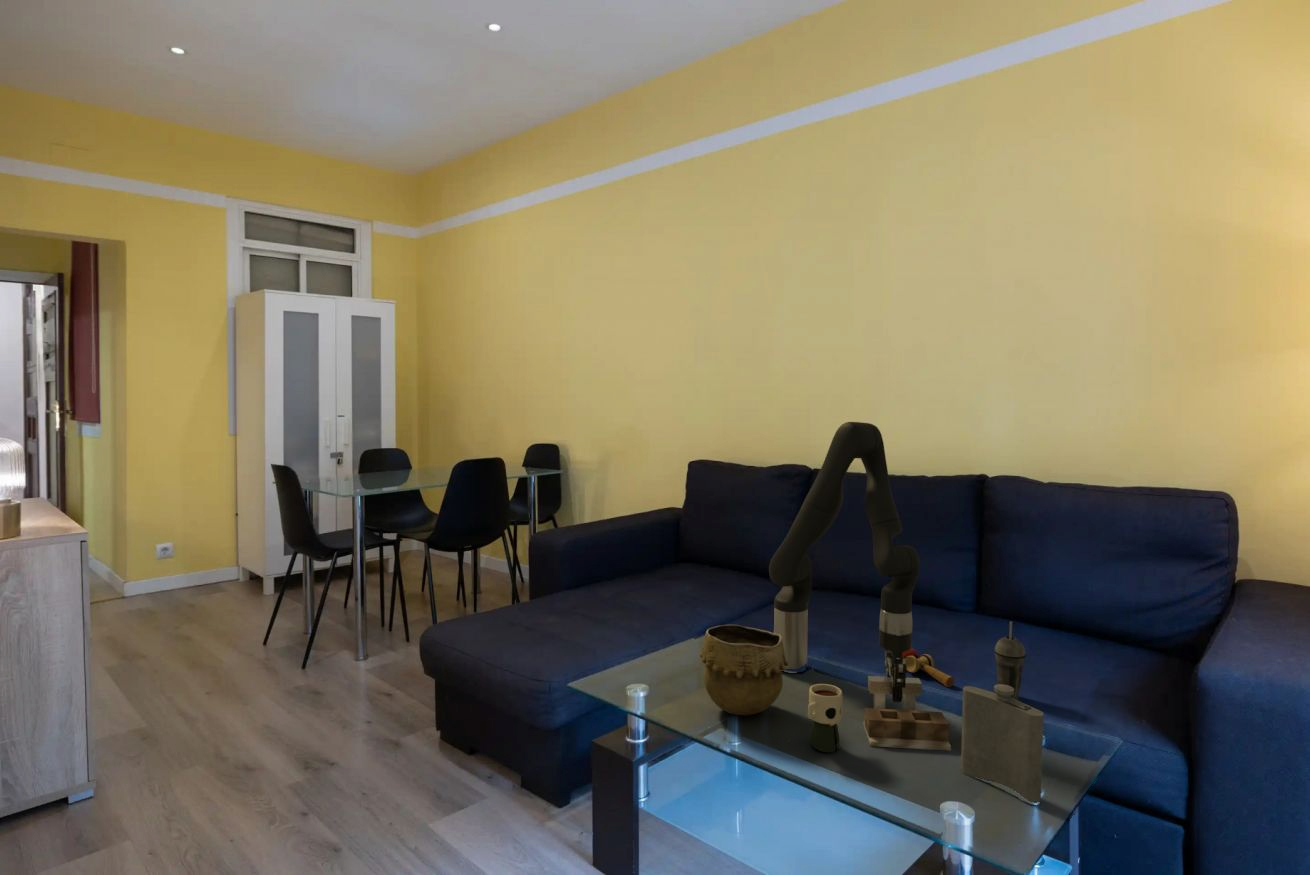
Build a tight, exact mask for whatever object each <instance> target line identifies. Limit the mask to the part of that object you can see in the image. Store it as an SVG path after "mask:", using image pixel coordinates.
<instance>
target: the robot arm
mask: <svg viewBox="0 0 1310 875" xmlns="http://www.w3.org/2000/svg"><path fill="white" fill-rule="evenodd" d="M855 459H860V460H861V462H862V464H863V467H864V469H865V474H866V491H865V499H864V503H865V510H866V515H867V518H868V519H867V520H868V522H869V524H870V529H871V531H872V547H873V548H872V551H873V562H874V566H875V568H876V570H877V572H878V574H880V575H882V576H883V577H886V578H893V579H892V580H891V581H890V582H888V583H887V584H885V585H883V587H882V588H881V594H880V613H879V630H878V631H879V634H878V635H879V636H878V638H879V640H878V641H879V642H878V644H879V647H881V648H882V649H883V650H884V669H885V674H886V677H892V694H891V700H892V702H893V703H903V695H902V688H905V686H906V684H905V682H906V678H907V669H906V668H907V666H906V664H905V657H903V652H905V651H909V650H910V649H911V648H913V647H912V646H913V615H912V614H913V612H912V602H913V601H912V600H913V598H912V596H913V592H914V589H915V585H916V582H917V580H918V576H919V572H920V567H921V562H920V556H919V554H918V552H917V550H916V549H915V547H912V546H911V545H908V544H907V545H905V544H902V545H895V546H894V543H893V542H894V540H893V539H894V538H895V537H897V536H899V535H900V534H902V531H903V526H902V523H901V520H900V516H899V513H898V510H897V507H896V503H895V500H894V498H893V497H894V496H893V494H892V489H891V484H890V478H889V470H888V464H887V458H886V451H885V444H884V440H883V435H882V433H881V431H880V429H879V428H878V427H877V426H876V425H875V424H872V423H868V422H860V421H847V422H844V423H842V424H841V425H840V426H839V427H838V428H837V429H836V432H835V433H834V435H833V437H832V440H831V442H830V445H829V447H828V450H827V453H826V455H825V459H824V461H823V464H822V465H821V468H820V470H819V472H818V474H817V476H816V478H815V480H814V482H813V484H812V486H811V487H810V489H809V491H808V493H807V495H806V496H805V498H804V500H803V503H802V505H801V506H800V509H799V511H798V513H797V514H796V517H795V519H794V521H793V523H792V524H791V527H790V529H789V530H788V533H787V534H786V536H785V538H784V539H783V541H782V543H781V544H780V545H779V547H778V549H777V550H776V551H775V553H774V554H773V556H772V557H771V559H770V562H769V566H768V573H769V578H770V580H771V581H772V583H774V584H775V585H777V586H779V587H781V589H780V591H779V592H778V593H777V594H776V595H775V597H774V603H773V606H774V608H773V610H774V616H773V617H774V618H773V620H774V622H773V633H774V634H780V635H781V637H782V641H783V646H784V654H785V658H786V661H787V662H788V663H789V664H788V666H785V669H798V668H800V667H802V666H804V665H805V664H806V663H807V664H808V620H809V619H808V618H809V616H808V614H809V613H808V612H809V611H808V610H809V609H808V608H809V607H808V605H809V603H810V602H809V601H810V599H811V595H812V582H813V581H812V580H813V566H812V565H813V564H812V561H811V558H810V557H809V555H808V551H809V550H810V549H811V548H812V546H814V545H815V544H816V543H817V541H819V540H820V538H821V537H822V536H823V535H824V534H825V533H826V532H828V530H829V529H830V528H831V526H832V525H833V523H834V522H835V519H836V518H837V516H838V515H839V512H840V510H841V508H842V506H843V503H844V480H845V476H846V473H847V472H848V470H849V468H850V466H851V464H852V463H853V462H854V460H855ZM897 679H900V682H897Z"/></svg>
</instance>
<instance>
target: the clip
mask: <svg viewBox="0 0 1310 875" xmlns="http://www.w3.org/2000/svg"><path fill="white" fill-rule="evenodd" d="M897 682H900V679H897ZM922 683H923V682H922V681H921V679H920V678H919V677H906V682H905V684H906V686H905V688H902V708H903V707H904V710H914V711H916V697H917V696H918V697H919V696H920V697H922V695H923V694H922V692H923V689H922V687H923V686H922V685H923V684H922ZM867 688H868V691H869V693H870V694H873V706H872V707H873V708H875V709H886V696H887V695H892V677H887V676H877V675H874V676H873V675H867Z"/></svg>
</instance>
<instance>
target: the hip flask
mask: <svg viewBox="0 0 1310 875" xmlns="http://www.w3.org/2000/svg"><path fill="white" fill-rule="evenodd" d="M993 691H994V692H993ZM993 691H990V690H986V689H982V688H979V687H975V686H971V685H967V686H963V689H962V714H961V716H962V717H961V720H962V721H961V755H960V757H961V758H960V773H962V774H963V773H964V774H963V775H965V776H968V775H969V776H968V777H970V776H973V777H977V778H980V779H984V780H987V781H992V782H996V783H999V784H1002V785H1004V786H1007V787H1009V788H1011V789H1013V790H1014V791H1016V792H1017V793H1019V794H1020V795H1021V796H1023V797H1024V798H1025V799H1027V800H1028V801H1030V802H1034V803H1037V802H1040V801H1042V800H1041V799H1042V777H1043V776H1042V774H1043V773H1042V772H1043V771H1042V770H1043V746H1044V745H1043V744H1044V743H1043V742H1044V721H1045V720H1044V719H1045V718H1044V716H1045V714H1044V712H1043V711H1041V710H1040V709H1037V708H1035V707H1033V706H1031V705H1029V704H1026V703H1024V702H1022V701H1020V700H1019V699H1018V700H1016V699H1014V698H1013V694H1014V688H1013V687H1011V686H1008V685H1003V684H998V683H997V684H995V685H994V686H993ZM973 777H972V778H973Z"/></svg>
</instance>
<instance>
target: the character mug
mask: <svg viewBox="0 0 1310 875" xmlns="http://www.w3.org/2000/svg"><path fill="white" fill-rule="evenodd" d="M808 691H809V692H808V705H807V706H808V707H807V717H808V719H810V720H812V721H813V723H812V727H811V734H810V741H809V742H810V745H811V747H813V748H815V749H816V750H818V751H820V752H822V753H834V752H836V751H835V750H836V748H835V747H837V750H839V749H840V746H841V745H840V744H841V743H840V734H839V729H838V728H839V726H838V724H839V723H840V722H841V721H842V718H843V702H844V701H843V690H842V689H841V688H839V687H838V686H835V685H834V684H833V685H832V684H829V683H828V684H827V683H816V684H813V685H811V686H810V687H809V690H808Z"/></svg>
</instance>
